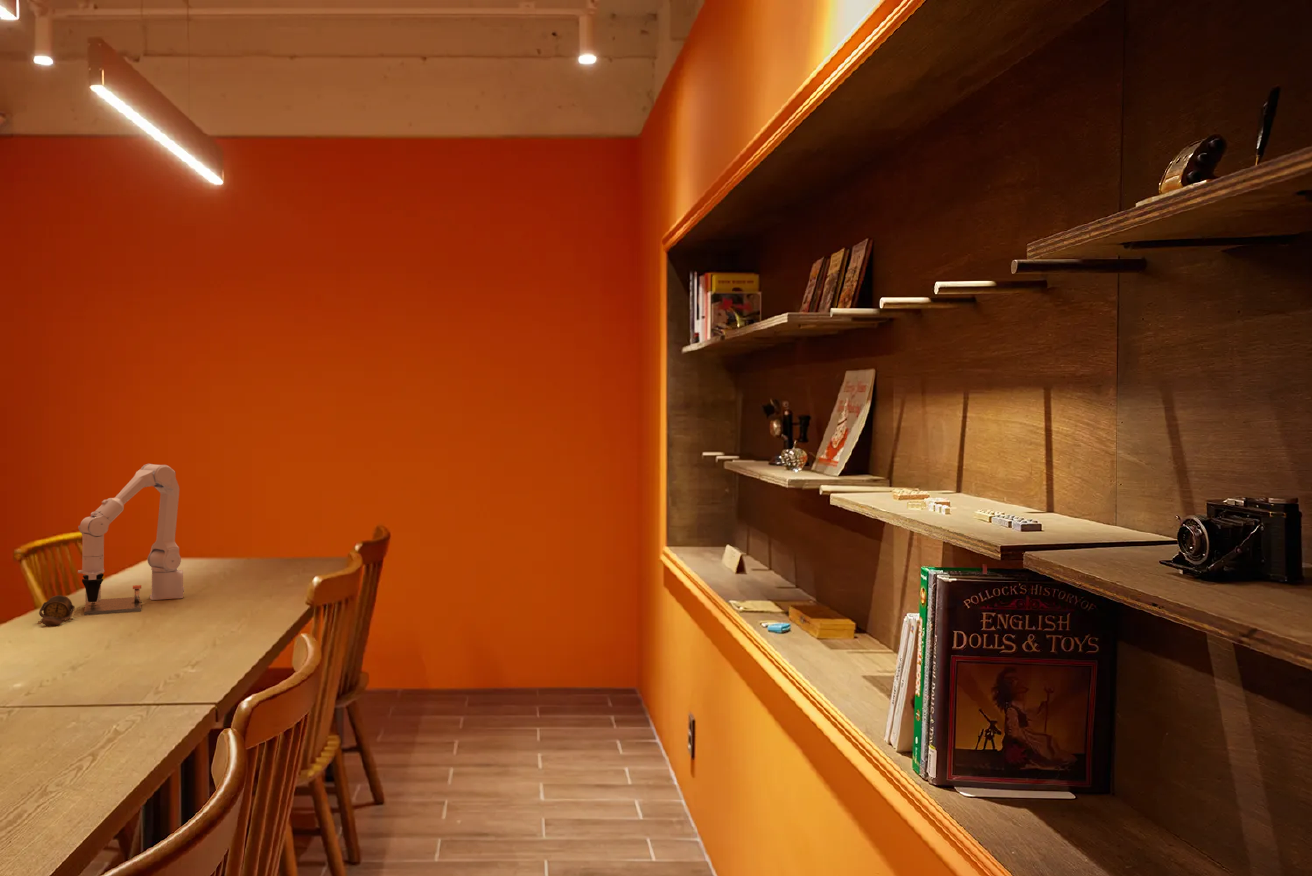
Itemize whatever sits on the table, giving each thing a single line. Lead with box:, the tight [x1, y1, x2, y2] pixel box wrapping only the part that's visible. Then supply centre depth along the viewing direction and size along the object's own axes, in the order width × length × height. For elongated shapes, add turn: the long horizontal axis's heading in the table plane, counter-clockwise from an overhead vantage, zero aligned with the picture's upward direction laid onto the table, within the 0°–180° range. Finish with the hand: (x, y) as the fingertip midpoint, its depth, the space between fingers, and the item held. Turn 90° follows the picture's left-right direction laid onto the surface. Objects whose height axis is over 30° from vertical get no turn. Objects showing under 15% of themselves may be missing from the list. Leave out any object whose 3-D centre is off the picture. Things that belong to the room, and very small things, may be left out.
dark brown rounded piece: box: [38, 594, 75, 627], centre depth 279 cm, size 7×13×10 cm
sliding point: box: [85, 584, 102, 605], centre depth 298 cm, size 4×4×6 cm
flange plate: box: [83, 584, 143, 616], centre depth 301 cm, size 15×20×6 cm
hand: (92, 599), depth 298 cm, fingers open, 7 cm apart
